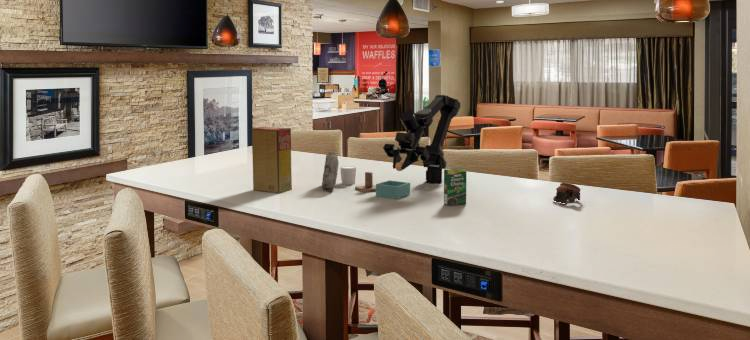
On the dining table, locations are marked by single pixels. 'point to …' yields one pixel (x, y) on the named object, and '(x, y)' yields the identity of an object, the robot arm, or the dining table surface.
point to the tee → (367, 183)
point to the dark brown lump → (567, 193)
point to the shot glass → (348, 174)
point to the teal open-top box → (393, 189)
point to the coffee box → (454, 186)
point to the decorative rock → (330, 171)
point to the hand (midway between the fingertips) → (397, 168)
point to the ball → (398, 166)
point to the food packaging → (271, 159)
